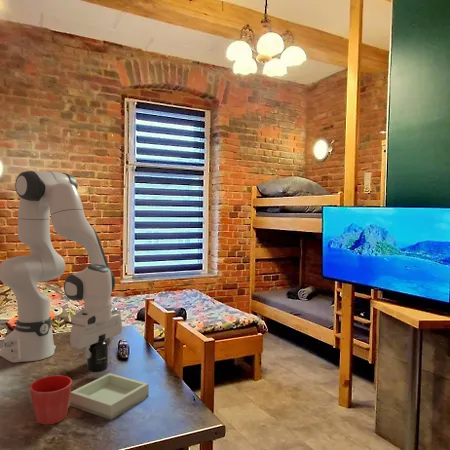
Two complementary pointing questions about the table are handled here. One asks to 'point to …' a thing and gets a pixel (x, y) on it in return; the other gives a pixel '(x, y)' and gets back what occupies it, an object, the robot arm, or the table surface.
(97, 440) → the table surface
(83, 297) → the robot arm
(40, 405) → the flower pot
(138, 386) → the tray
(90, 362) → the supplement bottle
